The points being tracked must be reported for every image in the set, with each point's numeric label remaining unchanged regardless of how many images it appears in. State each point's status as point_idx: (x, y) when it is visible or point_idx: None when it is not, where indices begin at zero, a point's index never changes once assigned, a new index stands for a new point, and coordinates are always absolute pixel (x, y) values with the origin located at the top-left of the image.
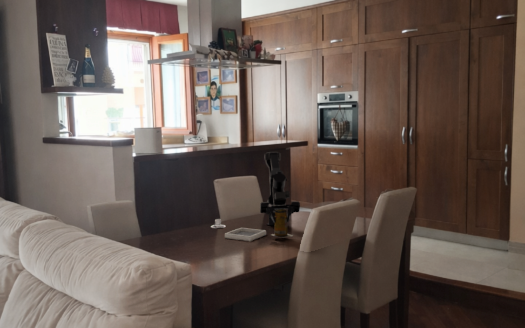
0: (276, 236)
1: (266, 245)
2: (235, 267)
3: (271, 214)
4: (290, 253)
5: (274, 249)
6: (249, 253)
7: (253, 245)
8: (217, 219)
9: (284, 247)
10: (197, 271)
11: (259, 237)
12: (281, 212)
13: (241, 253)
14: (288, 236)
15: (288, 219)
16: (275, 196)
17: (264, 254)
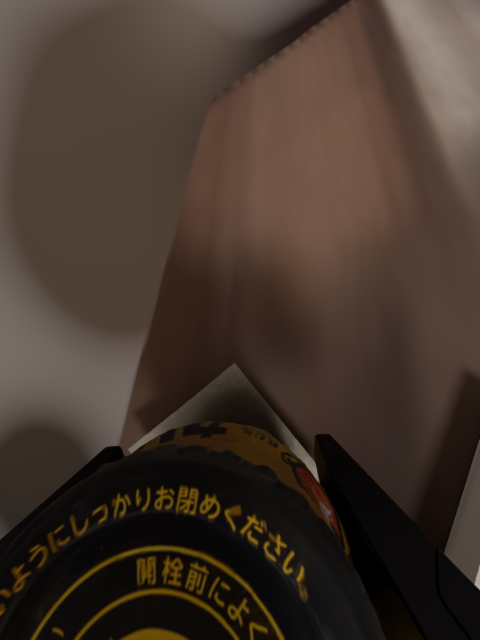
0: (280, 421)
1: (342, 285)
2: (419, 17)
3: (469, 583)
4: (212, 149)
5: (288, 207)
6: (411, 148)
7: (429, 288)
8: None
9: (232, 241)
10: None
11: (444, 552)
12: (170, 444)
13: (453, 147)
14: (178, 418)
15: (88, 468)
16: None
17: (333, 136)
